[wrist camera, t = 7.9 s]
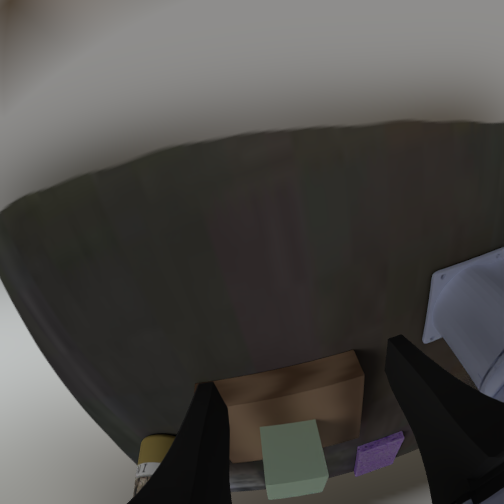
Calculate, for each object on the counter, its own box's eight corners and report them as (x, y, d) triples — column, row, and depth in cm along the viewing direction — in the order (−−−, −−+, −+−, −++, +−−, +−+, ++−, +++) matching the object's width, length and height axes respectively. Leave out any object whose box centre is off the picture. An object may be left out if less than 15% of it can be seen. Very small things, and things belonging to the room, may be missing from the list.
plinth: (353, 349, 24) (364, 375, 21) (352, 416, 29) (358, 437, 27) (195, 383, 25) (192, 410, 22) (232, 441, 30) (233, 463, 27)
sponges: (401, 427, 34) (405, 437, 32) (390, 457, 40) (393, 465, 38) (355, 443, 34) (359, 453, 33) (352, 469, 40) (355, 477, 38)
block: (315, 419, 24) (328, 475, 18) (311, 442, 26) (322, 491, 21) (259, 426, 24) (265, 485, 18) (262, 449, 26) (268, 499, 20)
